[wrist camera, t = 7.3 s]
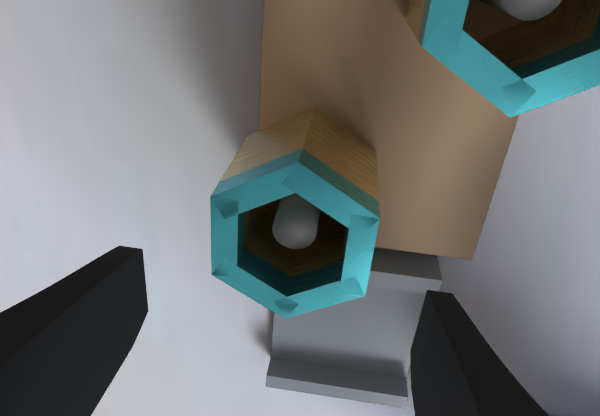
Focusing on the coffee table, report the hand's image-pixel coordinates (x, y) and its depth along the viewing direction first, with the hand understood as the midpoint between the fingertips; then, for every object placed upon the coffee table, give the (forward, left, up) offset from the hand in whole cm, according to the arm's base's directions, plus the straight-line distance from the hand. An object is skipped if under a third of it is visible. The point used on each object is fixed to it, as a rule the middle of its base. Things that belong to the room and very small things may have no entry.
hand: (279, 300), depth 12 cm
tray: (-2, +8, -9) cm, 12 cm away
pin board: (-2, -4, -9) cm, 10 cm away
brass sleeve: (0, 0, -7) cm, 7 cm away
